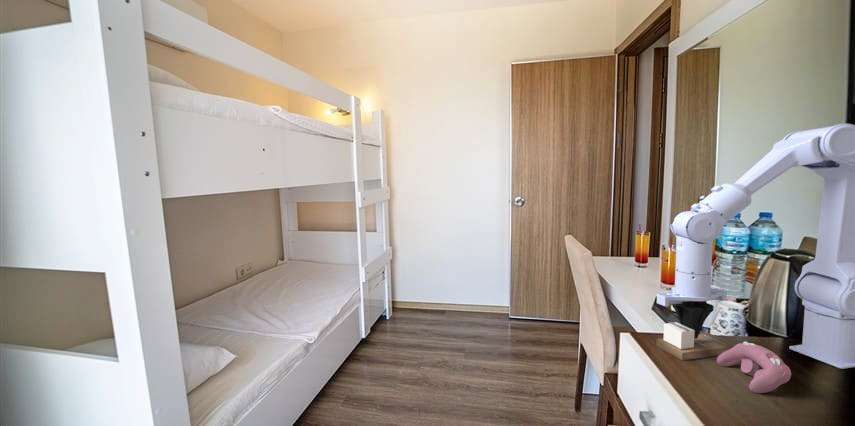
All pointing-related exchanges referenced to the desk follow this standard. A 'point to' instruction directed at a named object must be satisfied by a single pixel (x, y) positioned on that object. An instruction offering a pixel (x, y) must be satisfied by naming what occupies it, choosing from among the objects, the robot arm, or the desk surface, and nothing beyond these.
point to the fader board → (698, 347)
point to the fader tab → (679, 335)
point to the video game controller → (757, 366)
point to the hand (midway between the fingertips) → (690, 336)
